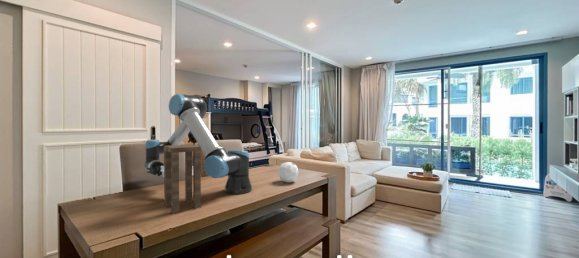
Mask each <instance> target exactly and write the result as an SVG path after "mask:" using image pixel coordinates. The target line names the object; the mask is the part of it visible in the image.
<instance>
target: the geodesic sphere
mask: <svg viewBox="0 0 579 258" xmlns="http://www.w3.org/2000/svg"><path fill="white" fill-rule="evenodd" d="M277 174H278V177H279V179H280V180H281V181H282V182H285V183H289V184H290V183H292V182H295V181H296V180H297V179H298V177H299V169H298V165H296V163H295V162H291V161H284V162H283V163H281V165H280V166H279V167H278V172H277Z"/></svg>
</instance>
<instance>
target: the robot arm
mask: <svg viewBox="0 0 579 258" xmlns="http://www.w3.org/2000/svg"><path fill="white" fill-rule="evenodd" d="M207 107H208V106H207V103H206V101H205V100H204V98H203V97H200V96H198V95H190V94H183V93H176V94H173V96H171V98H170V100H169V102H168V110H169V113H170V114H172V116H177V117H178V119H179V121H181V122H180V123H179V125H178V126H177V128H176V129H175V131H174V132H173V133H172V134H171V136H170V137H169V138H168V140H167V141H162V142H160V139H147V140H146V141H145V146H144V147H145V160H144V162H143V163H144V164H143V165H144V168H145V169H146V173H147V174H148V173H149V174H151V175H153V176H156V175H157V177H164V171H163V170H160V167H161V166H164V162H162V161H160V155H164V146H169V145H182V143H183V142H184V140H185V139H186V138H187V136H188V135H189V133H191V134H192V136H193V137H194V139H195V141H196V143H197V145H198V146H201V151H202V152H203V154H204V159H203V160H204V163H203V166H204V167H203V169H204V171H205V173H206V175H208V177H210V178H212V179H213V178H214V179H221V178H225V177H227V180H226V182H225V186H224V192H225V193H227V194H231V195H241V194H247V193H249V192H251V191H252V189H253V185H252V182H251V180H250V163H249V162H250V154H249V151H248V150H240V149H239V150H238V149H236V150H235V149H229V150H226V149H225V147H223V146H220V145H219V143H218V142H217V140H216V139H215V137H214V135H213V134H212V132H211V131H210V129H209V127H208V126H207V124H206V123H205V122H204V119H203V118H204V117H205V115H206V113H207V111H208V110H207V109H208V108H207Z"/></svg>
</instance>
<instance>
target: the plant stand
mask: <svg viewBox="0 0 579 258" xmlns="http://www.w3.org/2000/svg"><path fill="white" fill-rule="evenodd" d="M201 151H202V149H201V146H199V145H196V144H191V143H188V144H180V145H169V146H164V154H163V164H164V178H163V186H164V189H163V190H164V191H163V193H164V196H163V197H164V198H163V199H164V203H163V204H164V206H165V208H167V207H168V208H169V207H170V209H171V210H170V212H171V213H172V214H177V213H180V153H184V168H185V169H184V171H185V172H184V175H185V176H184V177H185V180H184V185H185V186H184V187H185V189H184V190H185V191H184V194H185V196H184V197H185V200H184V202H186V203H192V202H193V205H192V207H193V208H194V209H199V208H201V207H202V198H201V197H202V196H201V195H202V192H201V191H202V189H201V188H202V186H201V185H202V182H201V181H202V175H201V174H202V173H201V171H202V170H201V169H202V167H201V166H202V165H201V163H202V161H201V160H202V159H201V158H202V155H201V154H202V153H201Z"/></svg>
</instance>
